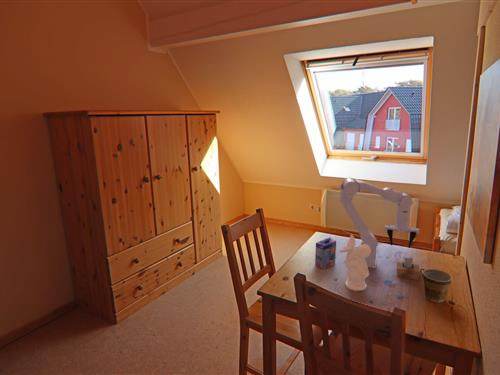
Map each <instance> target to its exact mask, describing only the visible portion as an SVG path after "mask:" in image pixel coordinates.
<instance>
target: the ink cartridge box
mask: <svg viewBox="0 0 500 375" xmlns="http://www.w3.org/2000/svg"><path fill="white" fill-rule="evenodd" d="M336 251H337V240H335V239H332V237H328V238H327V237H326V238H324V239H323V240H320V241H317V242H315V254H314V255H315V256H314V257H315V259H314V265H315V266H316V267H318V268H319V269H321V270H325V269H327V268H329V267H331V266H333V265H334V264H336V253H337V252H336Z"/></svg>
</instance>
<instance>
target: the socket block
mask: <svg viewBox="0 0 500 375" xmlns="http://www.w3.org/2000/svg"><path fill="white" fill-rule="evenodd" d="M404 261H405V260H401V259H397V260H396V277H398V278H404V279H411V280H416V281H420V275H421V273H420V270H421V269H420V264H419V262H413V261H412V268H406V267H404Z"/></svg>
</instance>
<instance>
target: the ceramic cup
mask: <svg viewBox="0 0 500 375" xmlns="http://www.w3.org/2000/svg"><path fill="white" fill-rule="evenodd" d="M420 275H421V276H422V281H423V286H424V295H425V298H426V299H427V300H429V301H430V302H434V303H438V304H439V303H443V302H444V301H445V300H446V297H447V294H448V291H449V289H450V286H451V284H452V281H453V276H452V275H451V274H449V272H448V273H447V272H446V271H444V270H440V269H437V268H434V269H433V268H428V269H425V268H421V269H420Z"/></svg>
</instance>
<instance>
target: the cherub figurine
mask: <svg viewBox="0 0 500 375" xmlns="http://www.w3.org/2000/svg"><path fill="white" fill-rule="evenodd" d="M359 245H360V246H357V245H356V238H355V237H354V235H353V233H351V234H350V235H349V240H348V242H347V244H346V246H344V247H343V249H340V250H339V253H342V254H343V253H346V254H345V259H344V265H345V267H346V268H347V270H346V277H347V278H346V279H347V280H346V281H345V287H346V288H347V289H349V290H351V291H354V292H360V291H361V292H363V291H365V290H366V289H367V287H368V286H367V283H366V278H368V277H369V276H370V270H369V267H367V263H366V260H365V258H366V257H368V256H369V255H370V252H371V249H370V247H369V245H367V244H363V245H361V244H359ZM356 246H357V247H356Z"/></svg>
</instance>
